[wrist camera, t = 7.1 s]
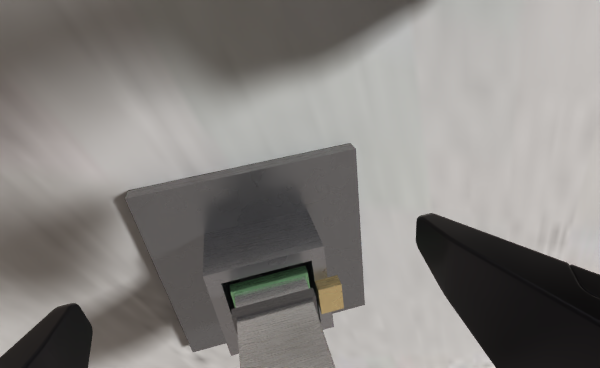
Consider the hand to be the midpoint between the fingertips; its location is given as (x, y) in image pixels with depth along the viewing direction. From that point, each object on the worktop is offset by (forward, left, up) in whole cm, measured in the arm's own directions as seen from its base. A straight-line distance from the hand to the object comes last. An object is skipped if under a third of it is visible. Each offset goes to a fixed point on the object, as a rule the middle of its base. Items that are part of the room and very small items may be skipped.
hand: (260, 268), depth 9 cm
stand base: (0, +10, -13) cm, 16 cm away
